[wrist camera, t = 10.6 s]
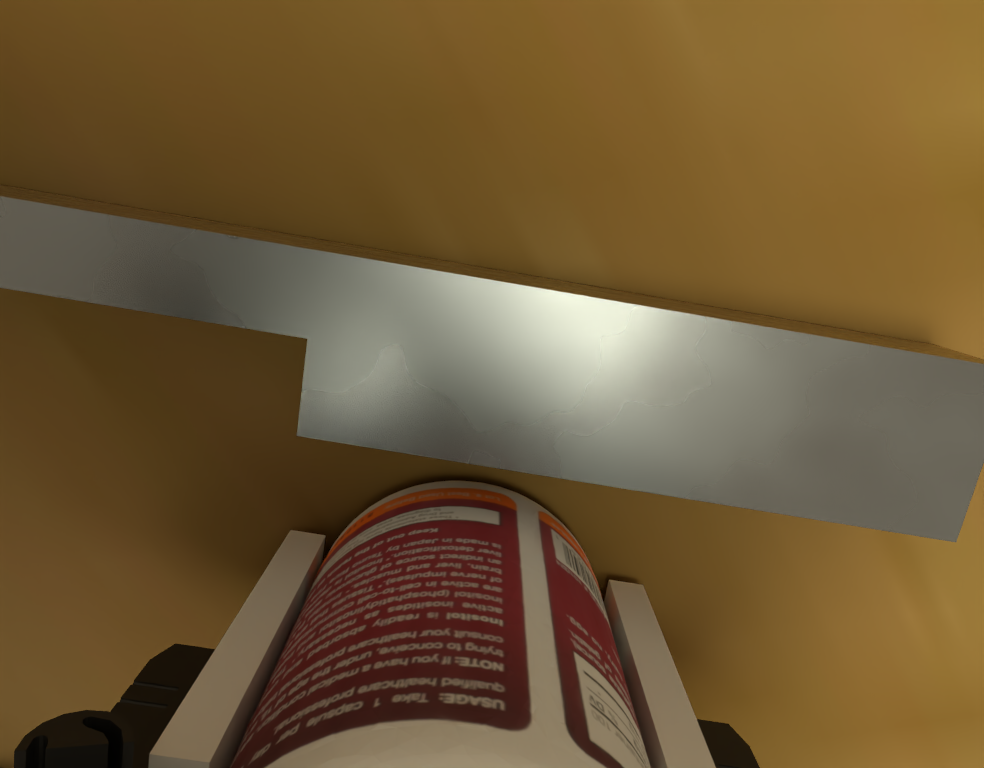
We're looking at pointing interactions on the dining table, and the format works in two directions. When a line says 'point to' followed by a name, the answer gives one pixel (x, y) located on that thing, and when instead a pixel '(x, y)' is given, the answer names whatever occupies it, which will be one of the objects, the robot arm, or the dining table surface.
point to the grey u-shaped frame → (545, 367)
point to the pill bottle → (449, 646)
